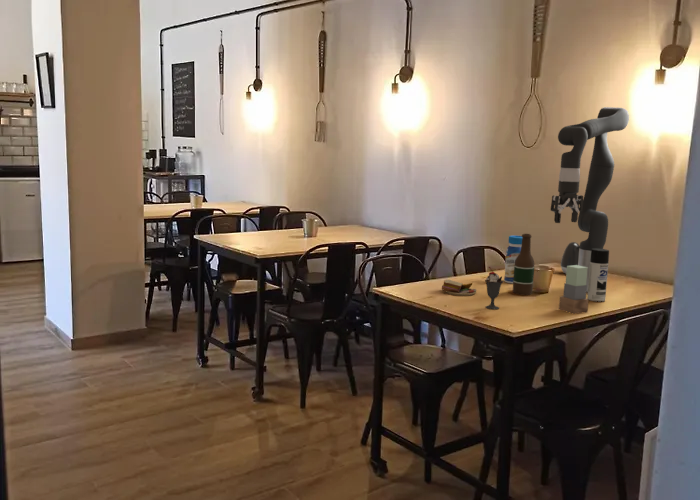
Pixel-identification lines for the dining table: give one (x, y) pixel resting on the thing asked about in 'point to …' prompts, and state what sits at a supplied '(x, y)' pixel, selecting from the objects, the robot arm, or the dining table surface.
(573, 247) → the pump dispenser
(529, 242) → the beer bottle
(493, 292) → the sundae
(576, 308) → the plinth
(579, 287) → the cube
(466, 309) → the dining table surface
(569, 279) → the block
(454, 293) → the toy sandwich meal
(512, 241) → the beverage bottle
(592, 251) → the spray can
